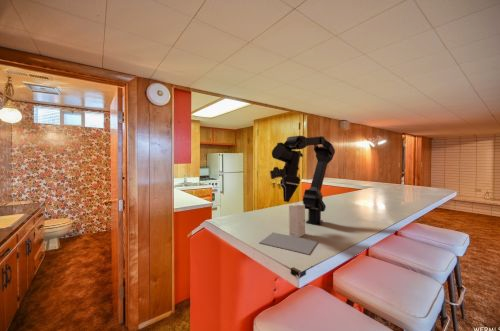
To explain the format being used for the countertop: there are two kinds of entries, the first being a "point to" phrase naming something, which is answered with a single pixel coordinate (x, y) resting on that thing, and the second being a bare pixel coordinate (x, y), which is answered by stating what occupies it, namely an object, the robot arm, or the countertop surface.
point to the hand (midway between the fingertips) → (285, 201)
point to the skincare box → (297, 220)
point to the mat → (290, 243)
